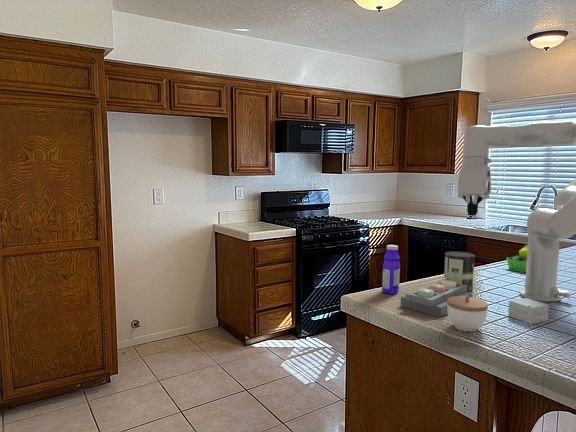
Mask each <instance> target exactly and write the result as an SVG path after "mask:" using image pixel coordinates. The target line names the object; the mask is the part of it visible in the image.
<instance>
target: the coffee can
mask: <svg viewBox="0 0 576 432" xmlns="http://www.w3.org/2000/svg"><path fill="white" fill-rule="evenodd" d="M475 257H476V254H474V253H471V252H466V251H456V250H455V251H454V250H453V251H446V252H445V253H444V269H443V270H444V273H443V280H452V281H455V282H456V283H458V284H463V285H467V291H465V292H468V293H472V294H473V293H474V292H473V290H474V289H473V288H474V272H475V269H474V268H475Z"/></svg>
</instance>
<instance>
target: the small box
mask: <svg viewBox="0 0 576 432" xmlns="http://www.w3.org/2000/svg"><path fill="white" fill-rule="evenodd" d="M549 309H550V307H549V304H547V303H545V302H543V301H537V300H532V299H528V298H525V297H523V298H517V299H512V300H508V312H507V316H508V317H510V318H512V319H515V320H516V319H517V320H518V321H521V322H525V323H527V324H529V325H531V324H532V325H533V324H536V323H541V322H547V321H548V320H549Z"/></svg>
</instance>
